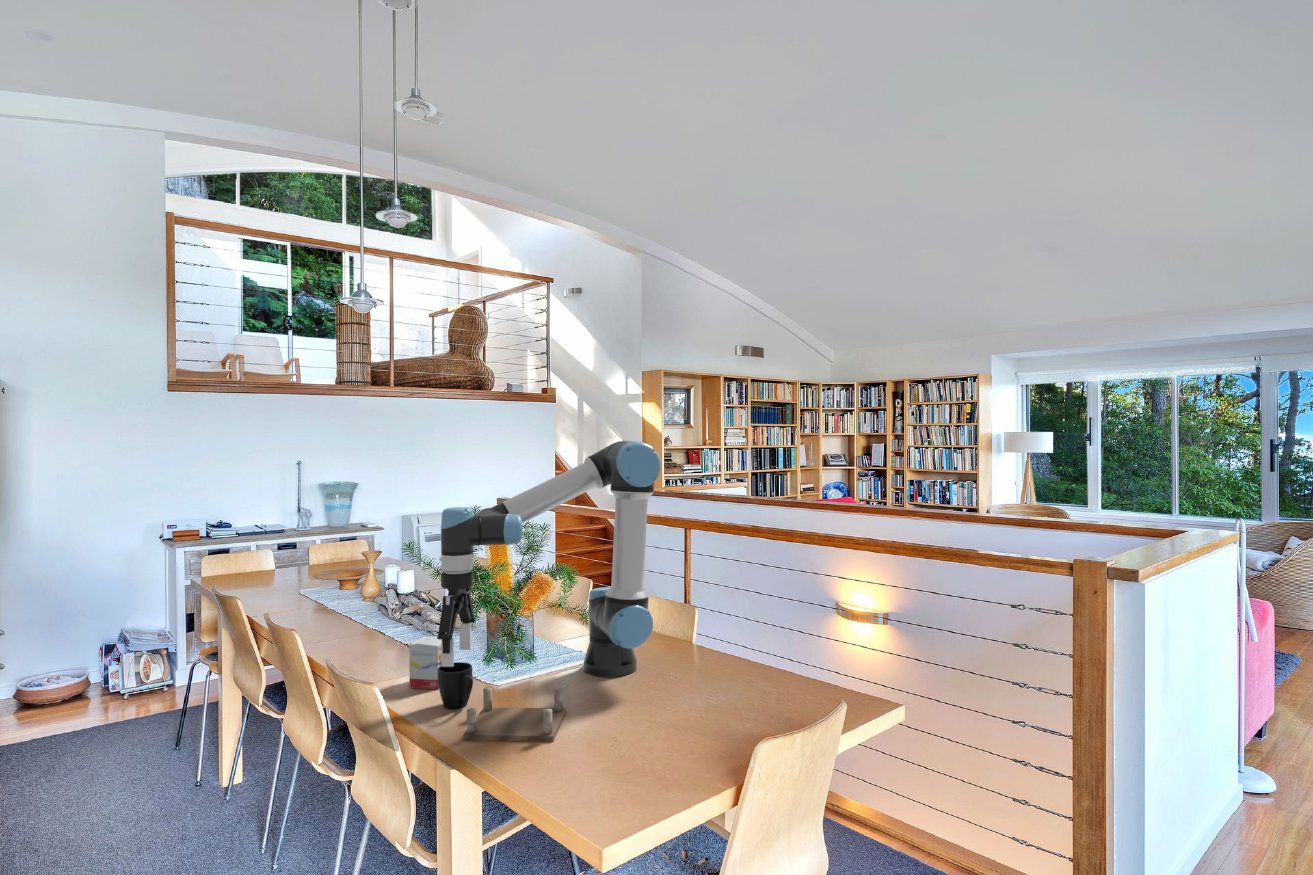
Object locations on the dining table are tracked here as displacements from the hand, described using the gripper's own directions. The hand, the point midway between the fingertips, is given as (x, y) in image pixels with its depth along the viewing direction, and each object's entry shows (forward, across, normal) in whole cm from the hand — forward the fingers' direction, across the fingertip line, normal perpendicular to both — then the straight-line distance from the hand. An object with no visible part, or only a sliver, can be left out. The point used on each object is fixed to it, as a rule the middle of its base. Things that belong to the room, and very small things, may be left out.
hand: (456, 657), depth 181 cm
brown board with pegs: (+12, +11, +18) cm, 24 cm away
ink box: (+13, -17, -12) cm, 25 cm away
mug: (+13, 0, 0) cm, 13 cm away
